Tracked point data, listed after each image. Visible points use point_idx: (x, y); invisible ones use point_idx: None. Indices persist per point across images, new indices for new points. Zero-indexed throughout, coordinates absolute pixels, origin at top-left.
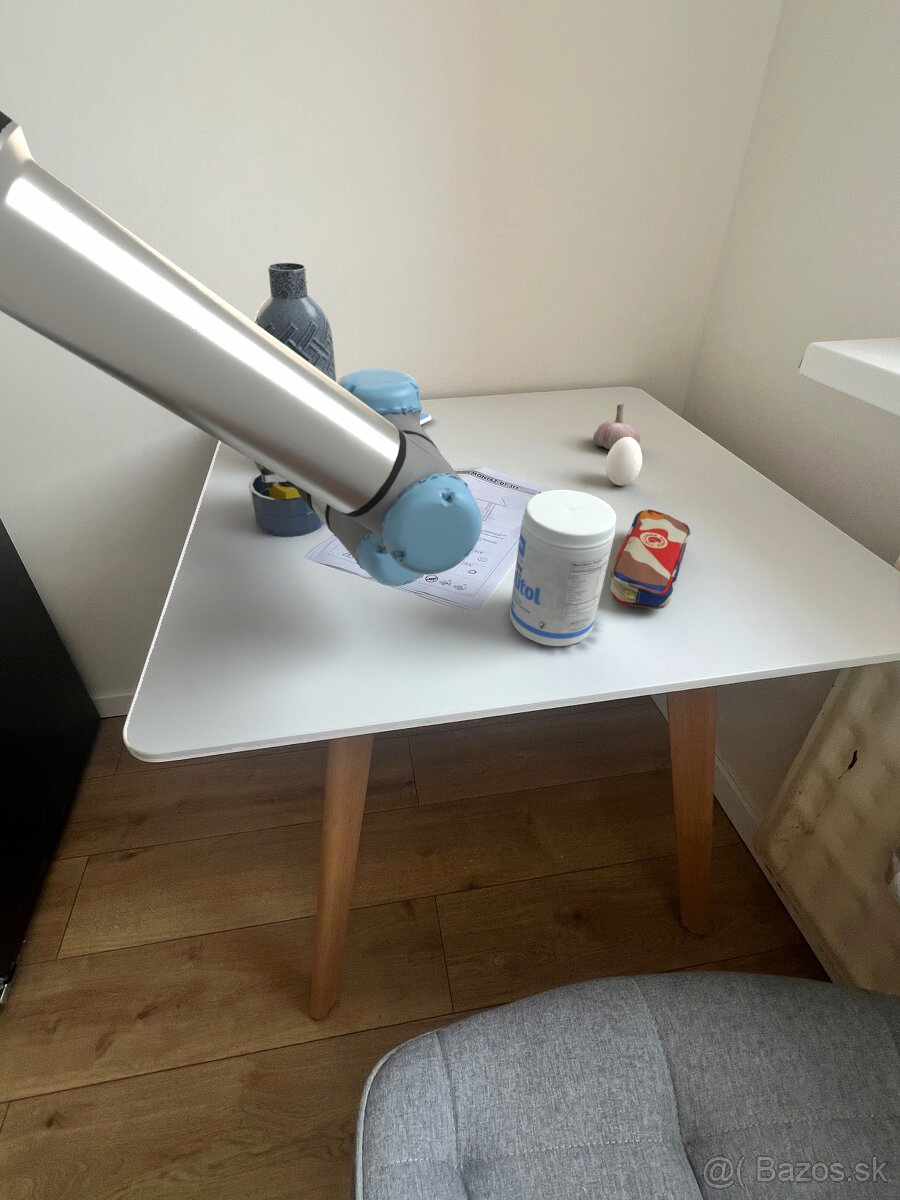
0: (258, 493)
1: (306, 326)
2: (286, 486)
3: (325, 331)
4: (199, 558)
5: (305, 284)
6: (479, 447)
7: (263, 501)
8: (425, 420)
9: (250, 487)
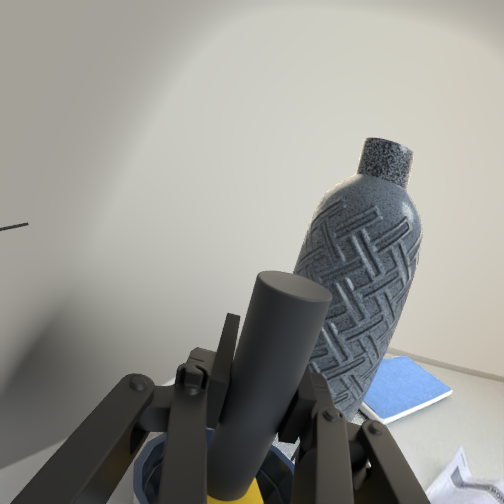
0: (139, 476)
1: (396, 220)
2: (208, 494)
3: (417, 243)
4: (8, 481)
5: (409, 172)
6: (494, 445)
7: (135, 499)
8: (447, 394)
9: (143, 450)
